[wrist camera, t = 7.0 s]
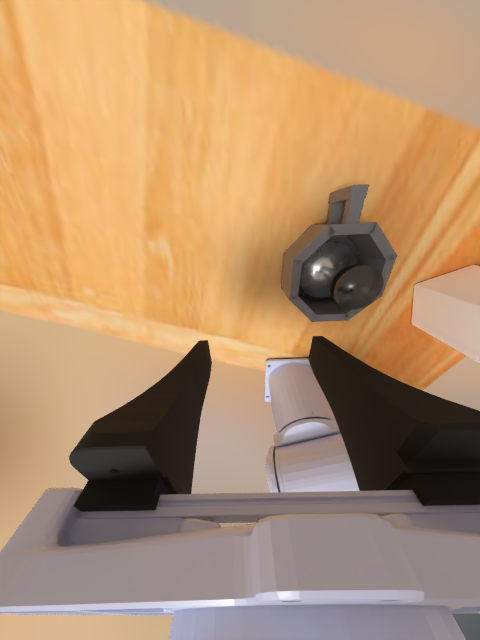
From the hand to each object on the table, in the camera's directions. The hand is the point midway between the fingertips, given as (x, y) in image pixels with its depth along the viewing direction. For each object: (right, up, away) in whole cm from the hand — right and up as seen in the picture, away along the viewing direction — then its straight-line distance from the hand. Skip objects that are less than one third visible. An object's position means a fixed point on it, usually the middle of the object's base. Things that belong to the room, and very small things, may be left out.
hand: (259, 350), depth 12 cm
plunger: (+8, +8, +7) cm, 13 cm away
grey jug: (+8, +9, +7) cm, 14 cm away
